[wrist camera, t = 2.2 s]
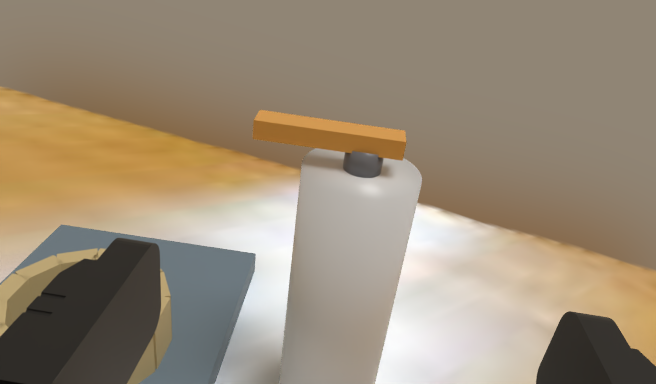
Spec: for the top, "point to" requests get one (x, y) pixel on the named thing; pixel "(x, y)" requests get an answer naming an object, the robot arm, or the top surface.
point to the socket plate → (176, 299)
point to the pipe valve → (343, 245)
